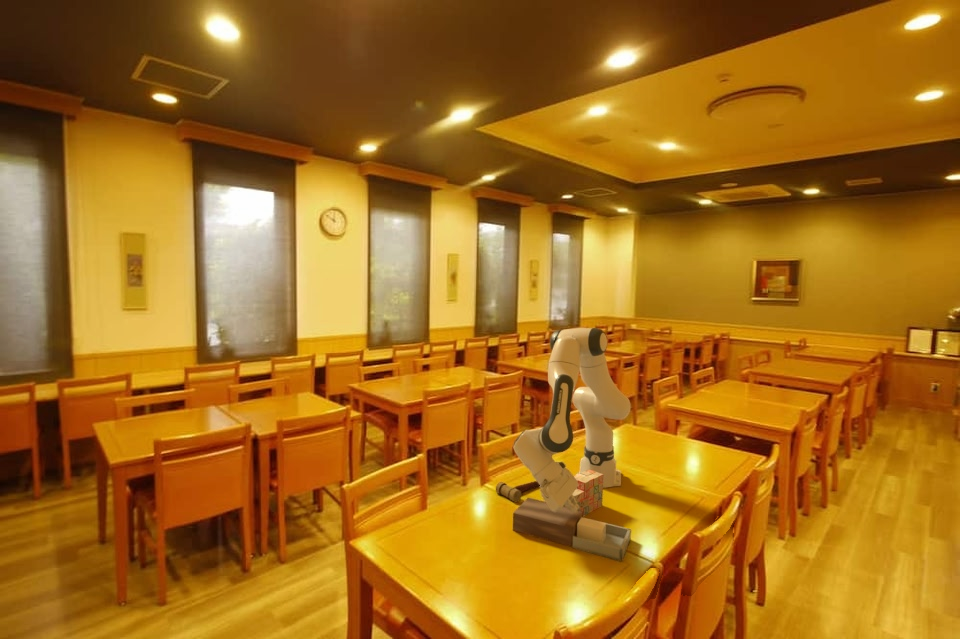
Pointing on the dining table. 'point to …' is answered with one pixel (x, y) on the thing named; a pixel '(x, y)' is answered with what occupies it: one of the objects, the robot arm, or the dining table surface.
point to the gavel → (514, 490)
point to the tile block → (591, 530)
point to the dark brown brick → (546, 521)
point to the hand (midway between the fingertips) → (577, 510)
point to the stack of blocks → (589, 491)
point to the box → (607, 543)
